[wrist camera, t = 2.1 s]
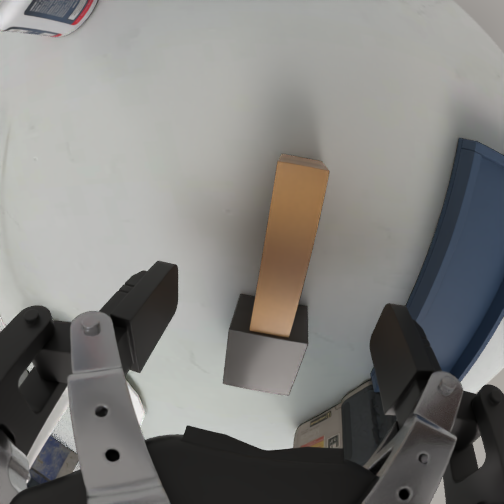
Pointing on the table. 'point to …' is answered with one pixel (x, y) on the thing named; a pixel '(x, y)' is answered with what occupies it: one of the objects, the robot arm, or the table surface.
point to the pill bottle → (44, 16)
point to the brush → (279, 285)
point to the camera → (349, 426)
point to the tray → (464, 263)
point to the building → (52, 463)
